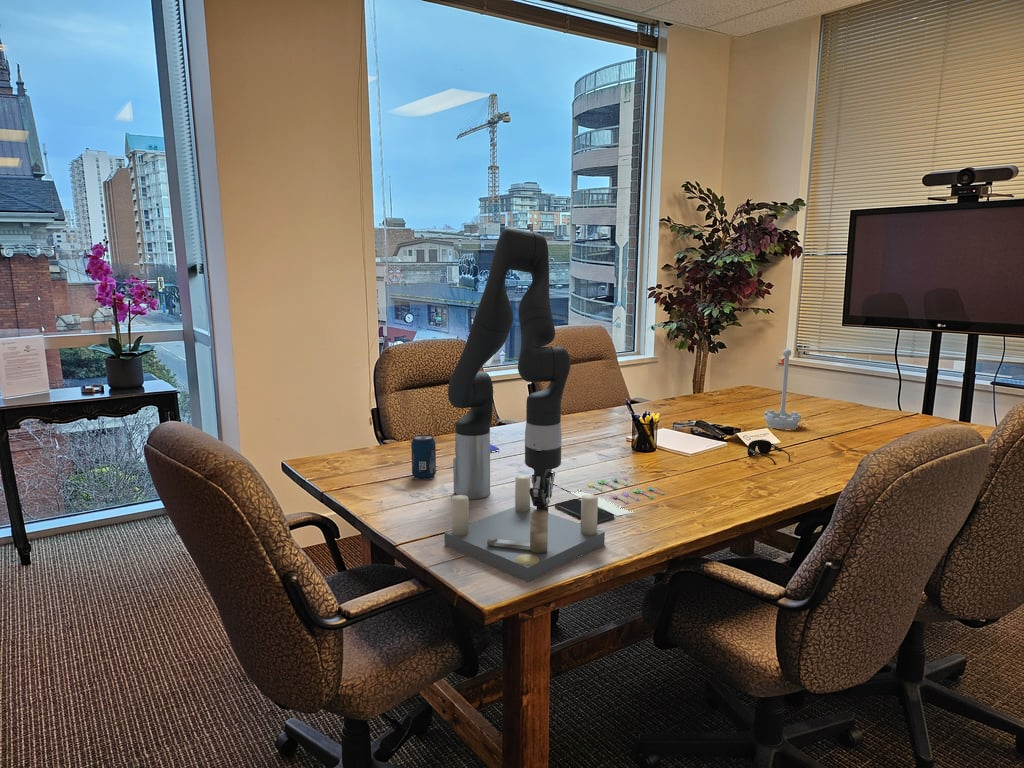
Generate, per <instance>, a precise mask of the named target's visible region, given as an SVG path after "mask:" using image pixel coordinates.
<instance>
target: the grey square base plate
mask: <svg viewBox="0 0 1024 768" xmlns="http://www.w3.org/2000/svg"><path fill="white" fill-rule="evenodd" d="M514 479H515V480H514V481H515V482H514V483H515V484H514V486H515V487H514V490H515V491H514V506H513V507H511V508H508V509H505V510H502V511H500V512H497V513H494V514H491V515H489V516H485V517H484V518H481V519H478V520H475V521H473V522H470V521H469V516H470V515H469V499H468V496H465V495H453V496H452V497H451V529H450V530H447V531H445V532H444V536H443V538H444V546H445V547H448V548H450V549H452V550H454V551H457V552H459V553H460V554H463V555H465V556H467V557H469V558H472V559H474V560H477V561H479V562H481V563H484V564H486V565H488V566H491V567H493V568H495V569H497V570H500V571H502V572H504V573H506V574H509V575H511V576H513V577H515V578H518V579H520V580H522V581H524V582H527V583H529V582H531V581H533V580H535V579H537V578H539V577H541V576H543V575H545V574H548V573H550V572H551V570H552V571H553V569H554V570H556V569H558V568H560V567H562V566H564V565H566V564H568V563H570V562H572V561H574V560H576V559H578V558H580V557H582V556H584V555H586V554H588V553H591V552H592V550H593V551H595V550H596V549H599V548H600V547H603V546H604V545H605V542H606V541H605V539H606V538H605V534H606V532H605V531H604V530H600V529H599V528H598V524H597V513H598V508H599V507H598V497H599V496H597V495H595V494H592V495H583V496H582V497H581V498H580V500H581V520H580V522H576V521H574V520H570V519H567V518H565V517H561V516H559V515H556V514H553V513H550V512H548V547H547V551H546V552H543V553H536V552H532V551H531V550H526V549H517V548H509V547H500V546H489V545H487V538H490V537H495V538H497V539H502V540H511V541H520V542H529V543H530V512H531V511H532V510H537V508H535V507H532V506H531V496H530V492H529V490H530V488H531V476H530V475H527V474H521V475H520V474H519V475H516V476H515V478H514ZM469 522H470V523H469ZM598 547H599V548H598ZM594 549H595V550H594ZM590 551H591V552H590ZM581 555H582V556H581ZM579 556H580V557H579ZM577 557H578V558H577ZM575 558H576V559H575ZM573 559H574V560H573ZM571 560H572V561H571ZM569 561H570V562H569ZM567 562H568V563H567ZM565 563H566V564H565ZM563 564H564V565H563ZM561 565H562V566H561ZM559 566H560V567H559ZM557 567H558V568H557ZM555 568H556V569H555ZM549 571H550V572H549ZM547 572H548V573H547Z"/></svg>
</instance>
